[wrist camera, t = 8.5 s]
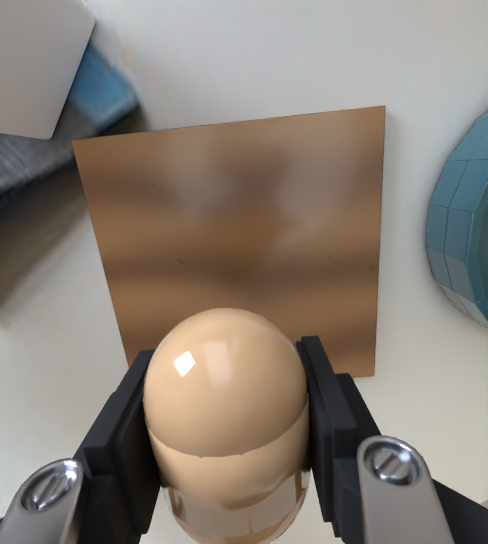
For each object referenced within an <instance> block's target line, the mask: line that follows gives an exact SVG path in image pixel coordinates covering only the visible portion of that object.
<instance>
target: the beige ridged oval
mask: <svg viewBox="0 0 488 544" xmlns="http://www.w3.org/2000/svg"><path fill="white" fill-rule="evenodd" d="M143 408H144V416H145V420H146V425H147V429H148V433H149V437H150V441H151V445H152V449H153V453H154V457H155V462H156V466H157V470H158V474H159V478H160V482H161V486H162V490H163V494H164V497H165V500H166V502H167V505H168V507H169V510H170V512H171V513H172V515H173V517H174V518H175V520H176V522H177V523H178V524H179V525H180V527H181V528H182V529H183V530H184V531H185V532H186V533H187V534H188V535H189V536H190V537H191V538H192V539H193V540H194V541H196V542H198V543H199V544H269V543H271V542H272V541H274V540H275V539H277V538H278V537H279V536H281V535H282V534H283V533H284V532H285V531H286V530H287V529H288V527H289V526H290V525H291V524H292V523H293V522H294V520H295V518H296V517H297V515H298V513H299V512H300V510H301V508H302V505H303V503H304V500H305V497H306V494H307V492H308V489H309V482H310V473H311V441H310V417H309V391H308V384H307V378H306V371H305V366H304V364H303V361H302V359H301V357H300V354H299V352H298V350H297V348H296V346H295V345H294V343H293V342H292V341H291V339H290V338H289V336H288V335H287V334H286V333H285V332H284V331H283V330H282V329H281V328H280V327H279V326H278V325H276V324H275V323H274V322H273V321H271V320H270V319H268V318H267V317H265V316H263V315H261V314H259V313H257V312H254V311H252V310H248V309H244V308H237V307H215V308H210V309H206V310H203V311H200V312H198V313H196V314H194V315H191V316H189V317H187V318H186V319H184V320H182V321H181V322H180V323H178V324H177V325H176V326H175V327H174V328H173V329H172V330H171V331H170V332H168V333H167V334H166V335H165V336H164V338H163V339H162V341H161V342H160V344H159V345H158V347H157V348H156V350H155V351H154V353H153V355H152V357H151V360H150V363H149V365H148V368H147V371H146V374H145V379H144V386H143Z"/></svg>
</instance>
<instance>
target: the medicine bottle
mask: <svg viewBox="0 0 488 544" xmlns="http://www.w3.org/2000/svg"><path fill="white" fill-rule="evenodd" d="M94 25H95V17H94V14H93V13H92V12H91V11H90V10H89V9H88V8H87V7H86V6H85V5H84V4H83V3H82V2H81V1H80V0H0V133H2V134H10V135H17V136H24V137H31V138H38V139H45V140H46V139H50V138H51V137H52V135H53V132H54V130H55V127H56V124H57V122H58V119H59V117H60V114H61V111H62V109H63V106H64V103H65V101H66V98H67V96H68V93H69V90H70V88H71V85H72V83H73V80H74V77H75V75H76V72H77V69H78V67H79V64H80V62H81V59H82V56H83V54H84V51H85V49H86V46H87V43H88V41H89V38H90V35H91V33H92V30H93V28H94Z"/></svg>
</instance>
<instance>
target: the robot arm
mask: <svg viewBox="0 0 488 544" xmlns="http://www.w3.org/2000/svg"><path fill="white" fill-rule="evenodd" d="M295 345H296V348H297V350H298V352H299V354H300V357H301V359H302V361H303V364H304V366H305V371H306V378H307V384H308V391H309V417H310V441H311V467H312V472H313V476H314V481H315V485H316V490H317V494H318V499H319V503H320V508H321V512H322V517H323V520H324V522H331V523H332V527H333V531H334V535H335V538H337V537H341V539H342V541H343V542H344V543H345V544H488V509H487V508H485V507H483V506H481V505H480V504H478V503H476V502H474V501H472V500H470V499H469V498H467V497H465V496H463V495H461V494H459V493H458V492H456V491H454V490H452V489H450V488H448V487H447V486H445V485H443V484H441V483H439V482H438V481H436V480H434V479H432V478H431V475H430V472H429V469H428V466H427V464H426V462H425V461H424V459H423V457H422V456H421V455H420V454H419V452H418V451H417V450H416V449H415V448H413V447H412V446H410V445H409V444H408V443H406V442H404V441H402V440H400V439H397V438H395V437H390V436H385V435H381V433H380V431H379V429H378V427H377V425H376V423H375V421H374V419H373V417H372V416H371V414H370V412H369V410H368V408H367V406H366V404H365V402H364V400H363V398H362V396H361V394H360V392H359V390H358V389H357V387H356V385H355V383H354V381H353V379H352V377H351V375H350V374H349V373H338V374H335V373H334V370H333V368H332V366H331V364H330V361H329V359H328V357H327V355H326V352H325V350H324V348H323V346H322V343H321V341H320V339H319V337H318V335H315V336H303V337H301V341H296V343H295ZM155 350H156V349H151V350H141V351H139V353H138V354H137V356H136V358H135V359H134V361H133V363H132V364H131V366H130V368H129V370H128V371H127V373H126V375H125V376H124V378H123V380H122V381H121V383H120V385H119V386H118V388H117V390H116V391H115V392H113V393H112V394H111V396H110V397H109V399H108V400H107V402H106V404H105V405H104V407H103V409H102V410H101V412H100V414H99V415H98V417H97V418H96V420H95V422H94V423H93V425H92V427H91V428H90V430H89V432H88V433H87V435H86V437H85V438H84V440H83V442H82V443H81V445H80V447H79V448H78V450H77V452H76V453H75V455H74V457H73V458H72V459H71V458H67V459H60V460H57V461H54V462H51V463H49V464H47V465H45V466H44V467H42V468H40V469H39V470H37V471H36V472H35V473H33V474H32V475H31V476H30V477H29V478H28V479H27V480H26V481H25V482H24V483H23V484H22V485H21V486H20V488H19V490H18V491H17V493H16V494H15V496H14V498H13V500H12V502H11V504H10V506H9V508H8V510H7V512H6V514H5V516H4V517H3V518H2V519H0V544H139V542H140V538H141V535H142V534H146V533H147V532H148V530H149V527H150V523H151V519H152V516H153V512H154V508H155V505H156V501H157V497H158V493H159V490H160V486H161V482H160V478H159V474H158V470H157V466H156V462H155V457H154V453H153V449H152V445H151V441H150V437H149V433H148V429H147V425H146V420H145V416H144V408H143V386H144V379H145V374H146V371H147V368H148V365H149V363H150V360H151V357H152V355H153V353H154V351H155Z"/></svg>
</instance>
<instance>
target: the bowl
mask: <svg viewBox="0 0 488 544" xmlns="http://www.w3.org/2000/svg"><path fill="white" fill-rule="evenodd" d="M426 248H427V252H428V256H429V260H430V264H431V267H432V271H433V275H434V279H435V281H436V282H437V283H438V285H439V286H440V288H441V289H442V290H443V292H444V293H445V294H446V296H447V297H448V298H449V300H450V301H451V302H452V304H453V305H454V306H455V307H456V308H458V309H459V310H461V311H462V312H464V313H465V314H467V315H468V316H470V317H471V318H473V319H474V320H476V321H477V322H479V323H480V324H482V325H483V326H485V327H486V328H488V111H487V112H486V113H485V114H484V115H482V116H481V117H480V118H479V119H478V120H477V121H476V122H475V124H474V125H473V126H472V128H471V129H470V130H469V132H468V133H467V134H466V136H465V137H464V138H463V140H462V141H461V142H460V144H459V145H458V146H457V148H456V149H455V150H454V152H453V153H452V154H451V156H450V157H449V158H448V160H447V162H446V164H445V167H444V169H443V172H442V174H441V177H440V179H439V181H438V184H437V186H436V189H435V191H434V194H433V196H432V199H431V201H430V205H429V214H428V225H427V236H426Z"/></svg>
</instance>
